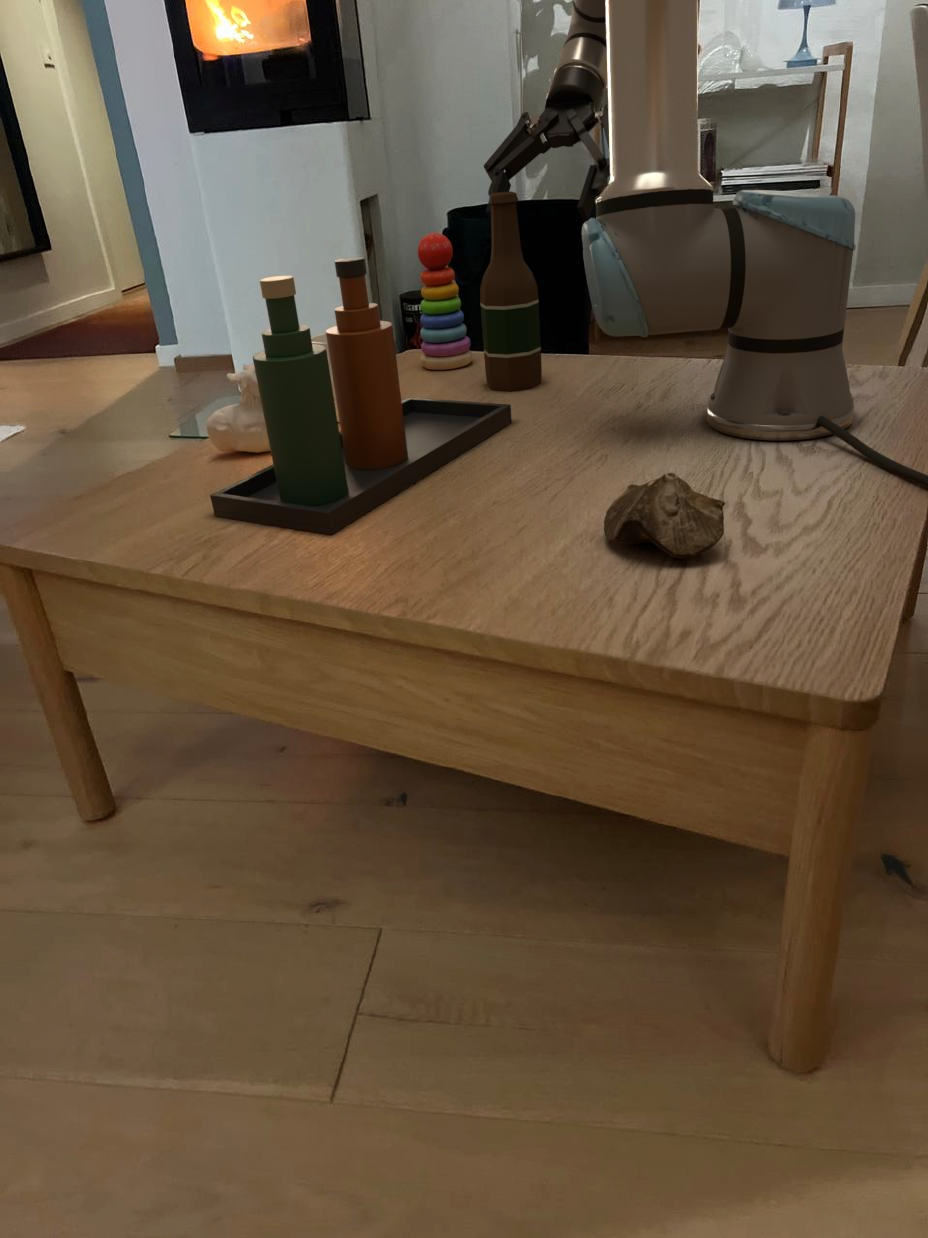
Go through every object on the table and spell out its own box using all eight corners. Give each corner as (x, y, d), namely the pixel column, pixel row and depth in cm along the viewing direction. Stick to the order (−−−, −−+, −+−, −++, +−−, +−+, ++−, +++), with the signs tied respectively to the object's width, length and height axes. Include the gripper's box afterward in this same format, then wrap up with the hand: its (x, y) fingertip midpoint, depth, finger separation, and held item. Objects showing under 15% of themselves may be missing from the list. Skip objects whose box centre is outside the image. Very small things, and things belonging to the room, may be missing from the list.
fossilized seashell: (752, 518, 71) (664, 504, 80) (714, 458, 68) (627, 450, 76) (696, 589, 70) (613, 568, 78) (655, 532, 66) (572, 515, 75)
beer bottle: (538, 390, 120) (529, 192, 109) (481, 392, 122) (466, 197, 111) (545, 375, 127) (537, 187, 116) (491, 377, 129) (478, 192, 117)
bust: (220, 479, 106) (225, 415, 97) (194, 430, 108) (196, 363, 99) (312, 454, 112) (325, 391, 102) (286, 408, 114) (296, 342, 104)
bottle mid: (419, 459, 97) (396, 256, 88) (362, 474, 94) (332, 266, 85) (390, 445, 103) (365, 252, 93) (335, 459, 100) (304, 262, 90)
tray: (410, 414, 116) (408, 397, 114) (511, 422, 109) (510, 404, 108) (214, 516, 89) (209, 495, 88) (331, 535, 82) (327, 512, 81)
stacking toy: (419, 362, 142) (405, 232, 133) (470, 356, 142) (459, 227, 133) (423, 373, 135) (408, 238, 126) (476, 367, 135) (465, 232, 126)
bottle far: (359, 494, 89) (326, 275, 80) (295, 512, 86) (253, 287, 77) (330, 477, 95) (297, 269, 85) (270, 494, 92) (227, 281, 82)
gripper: (671, 98, 123) (631, 232, 119) (509, 115, 135) (467, 237, 131) (659, 51, 116) (615, 191, 112) (489, 73, 128) (445, 200, 124)
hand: (535, 216), depth 122 cm, fingers open, 13 cm apart
